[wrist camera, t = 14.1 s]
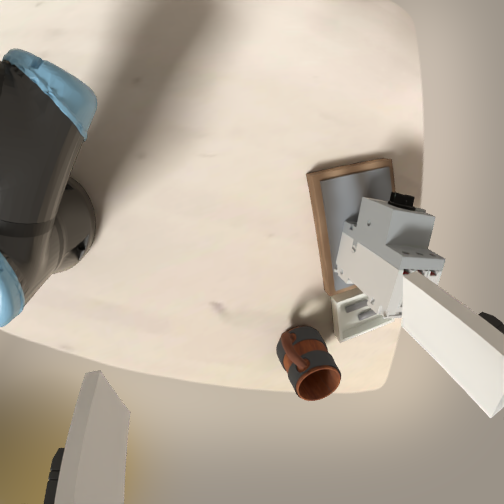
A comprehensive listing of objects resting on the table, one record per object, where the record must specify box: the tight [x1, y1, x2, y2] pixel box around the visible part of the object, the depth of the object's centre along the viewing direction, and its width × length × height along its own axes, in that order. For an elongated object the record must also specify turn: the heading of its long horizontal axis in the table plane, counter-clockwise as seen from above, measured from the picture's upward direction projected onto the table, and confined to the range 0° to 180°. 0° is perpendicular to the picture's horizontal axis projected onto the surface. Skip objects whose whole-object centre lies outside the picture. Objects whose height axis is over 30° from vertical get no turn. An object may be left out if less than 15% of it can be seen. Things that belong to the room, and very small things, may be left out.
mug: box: [276, 326, 341, 401], centre depth 49 cm, size 9×12×12 cm
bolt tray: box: [331, 287, 395, 343], centre depth 53 cm, size 12×9×3 cm
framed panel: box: [306, 158, 395, 296], centre depth 47 cm, size 14×20×3 cm
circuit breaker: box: [334, 192, 445, 319], centre depth 39 cm, size 8×14×15 cm, turn 173°
